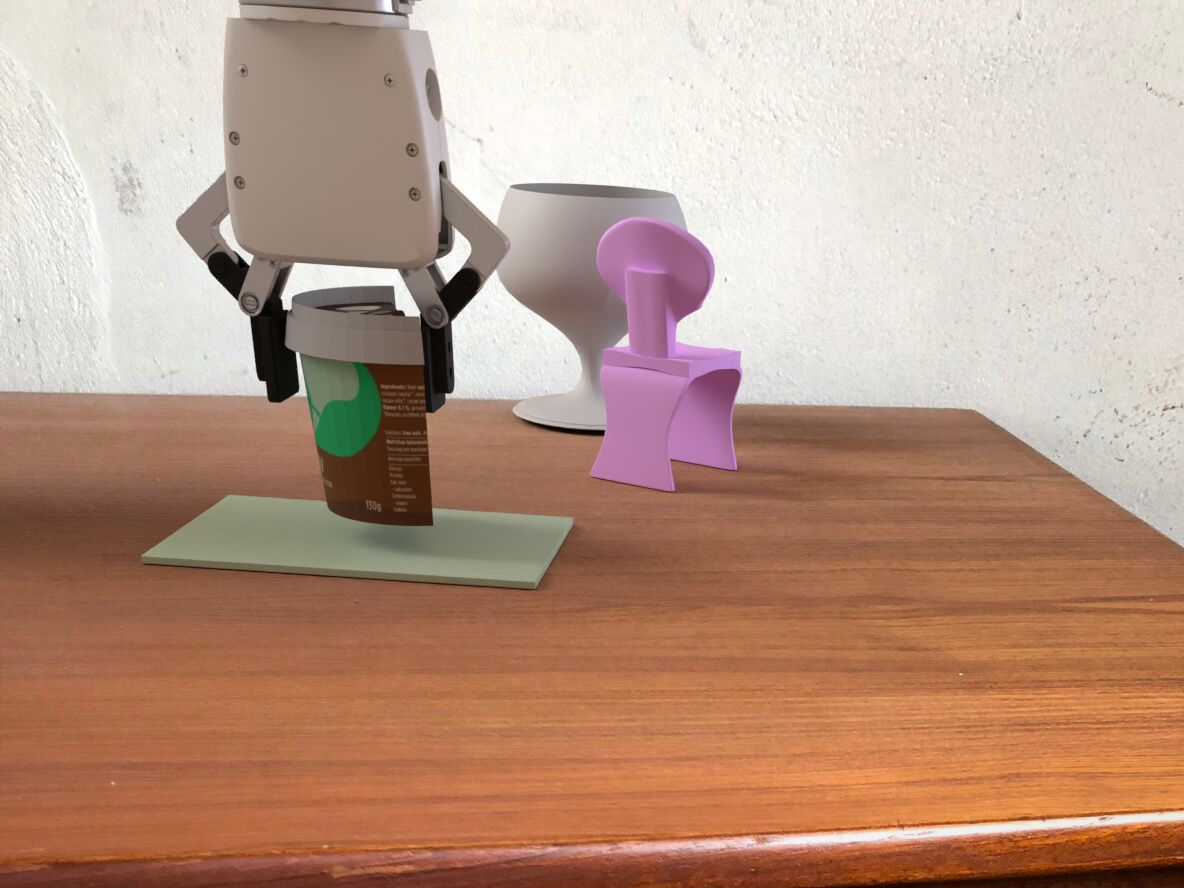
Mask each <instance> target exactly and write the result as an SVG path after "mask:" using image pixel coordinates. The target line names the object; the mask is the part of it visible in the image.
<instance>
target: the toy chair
mask: <svg viewBox="0 0 1184 888" xmlns="http://www.w3.org/2000/svg"><path fill="white" fill-rule="evenodd" d="M596 260H597V267H598V270H599V273H600V275H601V276H602V278H603V280H604V281H605V282H606V283H607V285H608V286H609V287H610V288H611V289H612V290H613V291H615V292H616V293H617V294H618V295H619V297H620V298H621V299H622V300H623V301H624V302H625V303H626V304H627V317H628V345H626V346H615V347H612V348H606V349H603V366H602V368H601V371H600V380H601V386H602V391H603V396H604V401H605V408H606V430H605V431H604V436H603V440H602V443H601V446H600V449H599V450H598V451H599V452H598V454H597V457H596V459H595V460H594V464H593V465H592V468H591V470H590V472H589V476H590V477H593V478H596V479H602V480H605V481H612V482H616V483H617V482H618V483H623V484H626V485H627V484H628V485H632V486H638V487H643V488H648V489H653V490H659V491H664V492H674V491H675V490H676V489H675V482H674V477H673V470H672V465H671V460H673V461H679V462H684V463H689V464H695V465H701V466H705V467H712V468H716V469H721V470H722V469H723V470H727V471H736V470H738V464H737V458H736V453H735V446H734V438H733V414H734V407H735V403H736V399H737V395H738V393H739V390H740V386H741V383H742V379H743V369H742V366H741V360H742V359H741V357H742V352H741V350H736V349H728V348H721V347H720V348H717V347H704V346H698V345H692V344H688V343H684V342H683V343H682V342H679V341H677V340H676V339H677V338H676V337H677V330H678V329H677V328H678V324H679V323H680V322H681V321H682V320H683V319H684V318H686V317H688V316H689V315H691V314H693V313H695V312H697V311H699V310H701V309H702V307H703V304H704V302H705V300H706V299H707V297H708V295H709V293H710V291H711V289H712V288H713V287H712V286H713V283H714V281H715V276H716V265H715V260H714V257H713V256H712V253H711V251H710V250H709V248H708V247H707V246H706V245H705V244H704V243H703V242H702V241H701V240H700V239H699V238H698V237H696V236H695V235H694V234H692V233H690V232H689V231H688V232H687V231H685V230H684V229H682V228H680V227H678V226H676V225H674V224H672V223H670V222H667V221H664V220H661V219H656V218H648V217H631V218H627V219H625V220H622V221H620V222H618V223H616V224H615V225H613V226H612V227H611V228H609V229H608V230H607V231H606V232H605V234H604V235H603V236H602V238H601V240H600V243H599V246H598V249H597V258H596Z"/></svg>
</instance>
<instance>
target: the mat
mask: <svg viewBox="0 0 1184 888" xmlns="http://www.w3.org/2000/svg"><path fill="white" fill-rule="evenodd" d="M432 511H433V526H394V525H381V524H372V523H366V522H360V521H355V520H350V519H347V518H344V517H341V516H339V515H336V514H334V513H333V512H331V511H330V510H329V508H328V507H327V501H326V500H314V499H313V500H312V499H299V498H298V499H297V498H296V499H295V498H284V497H267V496H253V495H239V494H228V495H226V496H225V497H224V498H222V499H221V500H218V501H217V503H215V504H213V505H212V506H210V507H209V508H208V509H207V510H204V512H202V513H200V514H199V515H198V516H196V517H195V518H194V519H192V520H191V521H189V522H187V523H186V524H185V525H183V526H182V527H180V528H179V529H177V530H176V531H175V532H173V533H171V534H170V535H169V536H167V537H166V538H164V539H163V540H161V541H160V542H159V543H158V544H156V545H154V546H153V547H152V548H150V549H148V550H147V551H146V552H144V553H143V554H141V555H140V559H141V563H142V564H145V565H147V564H148V565H162V566H177V567H191V568H207V569H220V570H221V569H222V570H236V571H250V572H251V571H253V572H265V573H266V572H268V573H280V574H283V573H284V574H297V575H298V574H299V575H314V576H325V577H328V576H329V577H341V578H357V579H358V578H359V579H370V580H371V579H373V580H386V581H387V580H388V581H401V582H402V581H403V582H418V583H431V584H432V583H433V584H449V585H463V586H478V587H490V588H491V587H493V588H508V589H523V590H536V588H537V587H538V585H539V583H540V582H541V580H542V578H543V577H544V575H545V573H546V572H547V570H548V568H549V567H550V564H551V563H552V562H553V560H554V558H555V556H556V555H557V553H558V551H559V550H560V548H561V546H562V544H563V543H564V541H565V539H566V537H567V536H568V534H569V532H570V531H571V530H572V528H573V526H574V517H571V516H570V517H568V516H555V515H543V514H542V515H540V514H524V513H509V512H495V511H479V510H466V509H465V510H464V509H449V508H435V507H432Z"/></svg>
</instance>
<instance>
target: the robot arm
mask: <svg viewBox="0 0 1184 888" xmlns="http://www.w3.org/2000/svg"><path fill="white" fill-rule="evenodd" d="M422 1H423V0H238V4H239V5H238V8H239V16H240V17H230V16H229V17H226V23H225V35H224V48H223V49H224V50H223V73H222V74H223V76H222V77H223V78H222V125H223V127H222V128H223V129H222V130H223V151H224V166H225V167H224V168H225V169H224V171H223V172H221V174H220V175H218V177H216V178H215V180H214V181H212V183H210V184H209V186H207V188H206V189H204V190H203V192H202V193H200V194H199V196H198V197H197V198H195V200H193V202H191V204H190V205H188V206H187V208H186V209H185V210H184V211H182V212H181V213H180V215H178V217H177V218H176V219H175V227H176V230H177V232H178V233H179V235H180V236H181V237H182V239H183V240H184V241H185V242H186V243H187V245H188V246H189V247H190V248H191V249H192V250H193V252H194V253H195V254H196V255H197V256H198V258H199V259H200V260H201V261H203V262H204V263H205V264H206V266H207V269H208V271H209V273H210V274H211V275H212V277H213V278H214V279H215V280H216V281H217V282H218V283H219V284H220V285H221V286H222V287H223V288H224V289H225V290H226V291H227V292H228V293H229V294H230V295H231V296H232V297H233V298H234V299H235V300H236V301H237V302H238V306H239V309H240V310H241V312H242V313H243V314H244V315H246V316H249V322H250V331H251V340H252V347H253V356H254V357H253V358H254V365H255V372H256V377H257V379H258V381H259V382H264V383H265V388H266V397H267V401H268V403H273V404H275V403H276V404H281V403H283V402H284V401H286V400H288V399H290V398H292V397H293V396H295V395H296V394H298V393H300V380H299V369H298V359H297V358H298V357H297V352H295V351H293V350H291V349H289V348H287V347H286V346H285V334H286V321H287V312H288V311H289V309H286V308H285V309H284V304H283V299H282V297H283V293H284V291H285V288H286V285H287V283H288V281H289V278H290V276H291V273H292V271H293V268H294V265H295V263H296V264H308V265H309V264H310V265H321V266H323V265H324V266H336V267H353V268H366V269H367V268H369V269H384V270H386V269H387V270H397V271H398V273H399V275H400V277H401V279H402V281H403V282H404V284H405V287H406V288H407V290H408V292H409V294H410V296H411V298H412V300H413V301H414V304H415V306H416V307H417V309H418V311H419V317H420V328H421V334H422V344H423V354H424V365H423V374H424V389H425V404H426V414H435V413H436V412H437V411H438V410H440V409H441V408H442V407H443V406H444V405H446V400H447V399H446V398H447V395H452V394H453V393H454V391H455V362H454V360H455V359H454V343H453V342H454V341H453V325H452V324H453V323H452V322H453V321H454V320H455V319H456V318H457V317H458V316H459V314H460V313H461V312H462V311H463V310H464V309H465V308H466V307H467V306H468V304H469V303H471V301H472V300H473V299H474V298H475V297H476V296H477V295H478V293H479V292H480V291H481V290H482V289H483V287H484V286H485V284H486V283H487V281H488V280H489V279H490V277H491V276H492V275H493V274H494V272H495V271H496V268H497V267H498V265H499V264H500V263H501V261H502V260H503V259H504V257H505V256H506V255H507V253H508V252H509V250H510V241H509V239H508V237H507V236H506V235H505V234H504V233H503V232H502V231H501V230H500V229H499V228H498V227H497V226H496V225H497V224H495V223H494V222H493V221H492V220H491V219H490V218H489V217H487V215H486V214H484V213H483V212H482V211H481V210H480V209H479V207H477V206H476V205H475V204H474V203H473V202H472V201H471V200H470V199H469V198H468V197H466V195H465V194H464V193H463V192H462V191H461V190H459V188H457V186H455V185H454V184H453V181H452V173H451V164H450V163H451V162H450V153H449V147H448V146H449V145H448V137H447V136H448V135H447V130H446V129H447V128H446V121H445V114H444V107H443V101H442V100H443V99H442V94H441V87H440V82H439V76H438V71H437V67H436V61H435V55H434V51H433V46H432V43H431V42H432V41H431V39H430V34H429V31H428V30H421V29H411V28H410V16H408V15H413V14H414V13H413V11H414V10H413V9H414V8H413V6H416V2H422ZM228 216H230V223H231V228H232V232H233V236H234V239H235V241H236V243H237V245H238V246H239V247H240V248H241V249H242V250H243V251H245V252H246V253H248V254H250V255H252V256H253V257H252V260H251V262H250V264H249V263H248V262H247V261H246V260H245V259H244V258H243V257H242V256H241V255H240V254H239V253H238V252H237V251H235V250H233V249H232V248H231V246H230V245H229V244H228V243H227V240H226V239H225V238H224V237H223V235H222V233H221V230H220V227H221V226H220V225H221V223H222V222H223V221H224V220H225V219H226V218H227V217H228ZM456 230H457V232H458V233H460V234H461V235H462V236H463V237H464V238H465V239H466V240H467V241H468V243H469V245H470V247H471V250H470V254H469V255H468V257H467V258H466V261H465V262H464V263H463V265H462V266H461V268H460V269H459V270H458V271H457V272H456V273H455V274H454V275H453V276H452V278H451V279H450V280H449V281H447V280H446V277H445V276H444V274H443V272H442V270H441V268H440V266H439V265H438V264H439V263H438V262H437V260H439V259H441V258H444V257H446V256H448V255H449V254H450V253H452V251H453V249H454V247H455V242H456V241H455V240H456Z"/></svg>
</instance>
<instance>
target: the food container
mask: <svg viewBox="0 0 1184 888" xmlns="http://www.w3.org/2000/svg"><path fill="white" fill-rule="evenodd" d="M420 326H421V325H420V315H419V316H417V315H416V316H415V315H413V316H411V315H406V313H405V311H404V310H402V309H397V305H396V293H395V286H394V285H354V286H338V287H328V288H318V289H312V290H307V291H303V292H299V293H297V294H294V295H293V296H292V297H291V308H290V309H288V312H287V321H286V334H285V346H286V347H287V348H289V349H291V350H293V351H295V352H296V353H299V359H300V364H301V365H300V366H301V370H302V375H303V381H304V386H305V392H306V397H307V402H308V408H309V413H310V419H311V424H312V430H313V434H314V435H313V436H314V441H315V446H316V451H317V456H318V462H319V469H320V472H321V479H322V484H323V489H324V495H325V501H327V507H328V508H329V510H330V511H331V512H333V513H334V514H336V515H339V516H341V517H344V518H347V519H350V520H355V521H360V522H366V523H372V524H381V525H394V526H433V511H432V508H433V497H432V482H431V466H430V453H429V435H428V422H427V419H428V418H427V413H426V404H425V389H424V374H423V365H424V354H423V344H422V334H421V328H420Z"/></svg>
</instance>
